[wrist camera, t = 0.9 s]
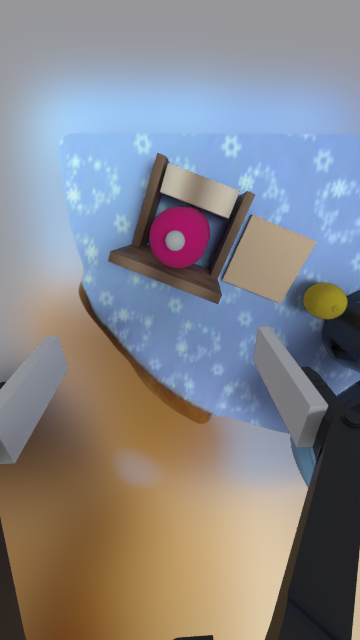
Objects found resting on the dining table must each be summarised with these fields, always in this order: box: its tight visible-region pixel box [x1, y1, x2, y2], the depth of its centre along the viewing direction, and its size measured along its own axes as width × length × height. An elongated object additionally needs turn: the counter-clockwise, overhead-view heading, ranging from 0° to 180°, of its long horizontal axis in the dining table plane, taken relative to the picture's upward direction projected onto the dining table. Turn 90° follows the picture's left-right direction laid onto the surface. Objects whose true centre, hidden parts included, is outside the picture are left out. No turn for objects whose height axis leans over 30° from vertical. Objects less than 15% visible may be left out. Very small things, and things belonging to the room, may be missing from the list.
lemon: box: [303, 282, 347, 319], centre depth 38 cm, size 6×6×8 cm
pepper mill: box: [149, 207, 210, 268], centre depth 30 cm, size 7×7×20 cm
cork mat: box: [222, 215, 316, 304], centre depth 40 cm, size 11×11×1 cm
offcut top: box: [160, 163, 240, 219], centre depth 33 cm, size 10×4×3 cm, turn 70°
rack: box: [108, 153, 255, 304], centre depth 32 cm, size 14×14×14 cm
